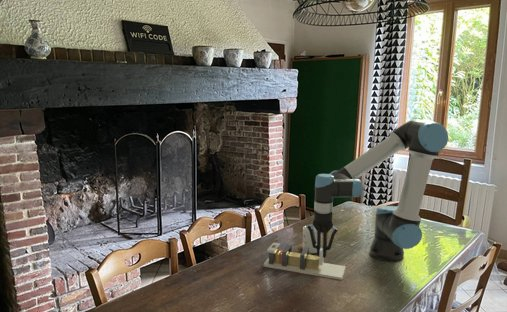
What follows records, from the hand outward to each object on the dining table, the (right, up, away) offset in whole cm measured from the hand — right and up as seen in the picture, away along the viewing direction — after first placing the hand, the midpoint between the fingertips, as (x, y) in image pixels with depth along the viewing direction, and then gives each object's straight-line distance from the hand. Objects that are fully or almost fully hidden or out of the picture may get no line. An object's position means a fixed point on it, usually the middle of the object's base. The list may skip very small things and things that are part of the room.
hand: (321, 263), depth 167 cm
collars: (-14, -1, +6) cm, 15 cm away
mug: (-2, +1, +22) cm, 22 cm away
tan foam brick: (-10, -1, +4) cm, 11 cm away
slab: (-7, -2, +3) cm, 8 cm away
